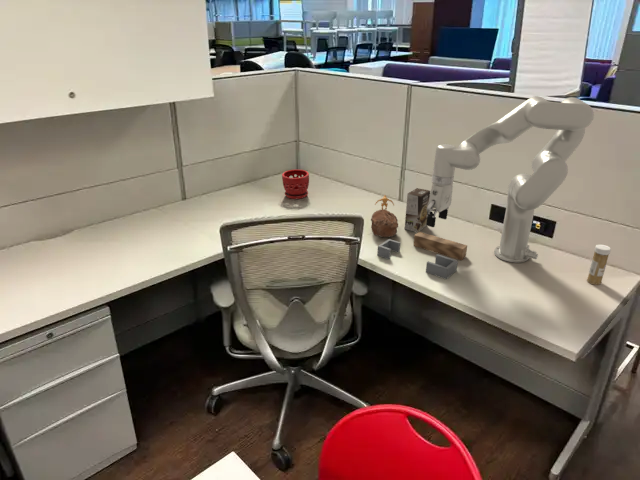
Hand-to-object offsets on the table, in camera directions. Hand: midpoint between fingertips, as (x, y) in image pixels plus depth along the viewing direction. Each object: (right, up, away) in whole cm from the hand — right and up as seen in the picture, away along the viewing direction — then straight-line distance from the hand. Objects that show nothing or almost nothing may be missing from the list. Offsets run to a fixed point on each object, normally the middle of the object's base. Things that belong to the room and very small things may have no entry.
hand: (436, 222), depth 185 cm
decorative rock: (-17, -4, +19) cm, 26 cm away
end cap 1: (-18, -12, +2) cm, 21 cm away
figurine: (-16, +2, +31) cm, 35 cm away
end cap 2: (-1, -18, -10) cm, 21 cm away
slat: (+2, -11, +4) cm, 12 cm away
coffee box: (-3, -2, +24) cm, 24 cm away
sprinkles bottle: (+50, -21, -17) cm, 57 cm away
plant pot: (-56, +15, +59) cm, 82 cm away
